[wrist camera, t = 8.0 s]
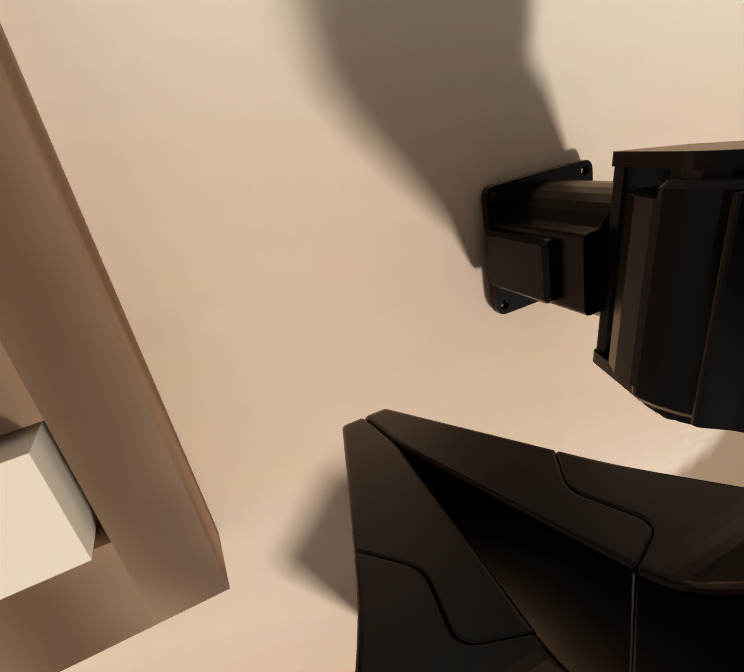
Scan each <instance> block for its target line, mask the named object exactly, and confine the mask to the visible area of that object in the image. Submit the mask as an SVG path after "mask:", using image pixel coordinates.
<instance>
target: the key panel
mask: <svg viewBox="0 0 744 672" xmlns="http://www.w3.org/2000/svg"><path fill="white" fill-rule="evenodd" d="M42 421H45V423H46V425H47V427H48V429H49V430H50V432H51V434H52V436H53V438H54V439H55V441H56V443H57V445H58V447H59V449H60V450H61V452H62V454H63V456H64V458H65V459H66V461H67V463H68V465H69V467H70V468H71V470H72V472H73V474H74V476H75V477H76V479H77V481H78V483H79V485H80V487H81V488H82V490H83V492H84V494H85V496H86V497H87V499H88V501H89V503H90V505H91V506H92V508H93V510H94V512H95V514H96V515H97V524H96V531H95V539H94V546H93V553H92V560H91V561H88V562H86V563H84V564H81V565H79V566H77V567H75V568H72V569H70V570H68V571H65V572H63V573H61V574H58V575H56V576H54V577H52V578H49V579H47V580H45V581H42V582H40V583H38V584H35V585H33V586H31V587H28V588H26V589H24V590H22V591H19V592H17V593H15V594H12V595H10V596H8V597H5V598H3V599H1V600H0V672H60V671H62V670H64V669H67V668H69V667H71V666H73V665H75V664H77V663H79V662H81V661H83V660H85V659H87V658H89V657H91V656H93V655H95V654H97V653H99V652H101V651H103V650H105V649H107V648H109V647H111V646H113V645H116V644H118V643H120V642H122V641H124V640H126V639H128V638H130V637H132V636H134V635H136V634H138V633H140V632H142V631H144V630H146V629H148V628H150V627H152V626H154V625H156V624H158V623H160V622H162V621H164V620H167V619H169V618H171V617H173V616H175V615H177V614H179V613H181V612H183V611H185V610H187V609H189V608H191V607H193V606H195V605H197V604H199V603H201V602H203V601H205V600H207V599H209V598H211V597H213V596H216V595H218V594H220V593H222V592H224V591H226V590H228V589H230V587H229V582H228V577H227V572H226V567H225V562H224V557H223V552H222V547H221V542H220V537H219V533H218V530H217V528H216V526H215V523H214V521H213V519H212V516H211V514H210V512H209V509H208V507H207V505H206V502H205V500H204V498H203V495H202V493H201V491H200V488H199V486H198V484H197V481H196V479H195V477H194V474H193V472H192V470H191V467H190V465H189V463H188V460H187V458H186V456H185V453H184V451H183V449H182V446H181V444H180V442H179V439H178V437H177V435H176V432H175V430H174V428H173V425H172V423H171V421H170V418H169V416H168V414H167V411H166V409H165V407H164V404H163V402H162V400H161V397H160V395H159V393H158V390H157V388H156V386H155V383H154V381H153V379H152V376H151V374H150V372H149V369H148V367H147V365H146V362H145V360H144V358H143V355H142V353H141V351H140V348H139V346H138V344H137V341H136V339H135V337H134V334H133V332H132V330H131V327H130V325H129V323H128V320H127V318H126V316H125V313H124V311H123V309H122V306H121V304H120V302H119V299H118V297H117V295H116V292H115V290H114V288H113V285H112V283H111V281H110V278H109V276H108V274H107V271H106V269H105V267H104V264H103V262H102V260H101V257H100V255H99V253H98V250H97V248H96V246H95V243H94V241H93V239H92V236H91V234H90V232H89V229H88V227H87V225H86V222H85V220H84V217H83V215H82V213H81V210H80V208H79V206H78V203H77V201H76V199H75V196H74V194H73V192H72V189H71V187H70V185H69V182H68V180H67V178H66V175H65V173H64V171H63V168H62V166H61V164H60V161H59V159H58V157H57V154H56V152H55V150H54V147H53V145H52V143H51V140H50V138H49V136H48V133H47V131H46V129H45V126H44V124H43V122H42V119H41V117H40V115H39V112H38V110H37V108H36V105H35V103H34V101H33V98H32V96H31V94H30V91H29V89H28V87H27V84H26V82H25V80H24V77H23V75H22V73H21V70H20V68H19V66H18V63H17V61H16V59H15V56H14V54H13V52H12V49H11V47H10V45H9V42H8V40H7V38H6V35H5V33H4V31H3V28H2V26H1V24H0V436H1V435H4V434H7V433H9V432H12V431H15V430H18V429H21V428H24V427H27V426H30V425H33V424H36V423H39V422H42Z"/></svg>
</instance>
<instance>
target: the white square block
mask: <svg viewBox="0 0 744 672" xmlns="http://www.w3.org/2000/svg"><path fill="white" fill-rule="evenodd" d="M96 524H97V515H96V514H95V512H94V510H93V508H92V506H91V505H90V503H89V501H88V499H87V497H86V496H85V494H84V492H83V490H82V488H81V487H80V485H79V483H78V481H77V479H76V477H75V476H74V474H73V472H72V470H71V468H70V467H69V465H68V463H67V461H66V459H65V458H64V456H63V454H62V452H61V450H60V449H59V447H58V445H57V443H56V441H55V439H54V438H53V436H52V434H51V432H50V430H49V429H48V427H47V425H46V423H45V421H42V422H39V423H36V424H33V425H30V426H27V427H24V428H21V429H18V430H15V431H12V432H9V433H7V434H4V435H1V436H0V600H1V599H3V598H5V597H8V596H10V595H12V594H15V593H17V592H19V591H22V590H24V589H26V588H28V587H31V586H33V585H35V584H38V583H40V582H42V581H45V580H47V579H49V578H52V577H54V576H56V575H58V574H61V573H63V572H65V571H68V570H70V569H72V568H75V567H77V566H79V565H81V564H84V563H86V562H88V561H91V560H92V553H93V546H94V539H95V531H96Z"/></svg>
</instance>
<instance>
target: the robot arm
mask: <svg viewBox="0 0 744 672" xmlns="http://www.w3.org/2000/svg"><path fill="white" fill-rule="evenodd" d="M612 166H615V169H614V179H613V181H593V168H592V164H591V162H590V161H588V160H578V161H574V162H571V163H567V164H564V165H560V166H556V167H553V168H549V169H546V170H542V171H539V172H535V173H532V174H528V175H524V176H521V177H517V178H514V179H510V180H507V181H503V182H499V183H496V184H492V185H489V186H487V187H486V188H485V189H484V190H483V192H482V208H483V218H484V228H485V236H484V238H485V248H486V258H487V268H488V278H489V283H490V288H491V298H492V307H493V309H494V311H496V312H498V313H501V314H507V313H509V312H512V311H514V310H517V309H520V308H522V307H525V306H527V305H530V304H533V303H535V302H538V301H540V302H543V303H552V304H555V305H558V306H561V307H564V308H567V309H570V310H573V311H576V312H579V313H582V314H585V315H592V314H594V315H597V316H600V319H599V329H598V339H597V348H596V349H594V355H593V362H594V363H595V364H596V365H598V366H599V367H600V368H601V369H602V370H604V371H605V372H606V373H607V374H608V375H610V376H611V377H612V378H613V379H614V380H616V381H617V382H618V383H619V384H621V385H622V386H623V387H624V388H625V389H627V390H628V391H629V392H630V393H631V394H632V395H634V396H635V397H636V398H637V399H638V400H639V401H641V402H642V403H644V404H645V405H646V406H647V407H649V408H650V409H652V410H653V411H655V412H657V413H659V414H660V415H661V416H663V417H664V418H667V419H671V420H676V421H679V422H683V423H687V424H691V425H693V426H696V427H700V428H710V429H722V430H732V431H738V432H743V433H744V141H733V142H715V143H697V144H686V145H675V146H665V147H654V148H644V149H633V150H623V151H613V160H612ZM582 168H583V171H582V173H581V169H582ZM493 192H494V194H495V196H494V199H493V200H491V194H492V193H493ZM503 301H504V305H503V306H502V307H501V304H502V302H503ZM343 438H344V449H345V460H346V470H347V481H348V491H349V502H350V512H351V523H352V533H353V544H354V554H355V568H356V579H357V599H358V626H357V654H356V669H355V672H744V487H739V486H733V485H726V484H721V483H715V482H709V481H704V480H698V479H692V478H686V477H680V476H674V475H669V474H663V473H657V472H652V471H646V470H641V469H636V468H630V467H625V466H620V465H615V464H610V463H606V462H601V461H597V460H593V459H588V458H584V457H579V456H575V455H571V454H567V453H563V452H557V453H555V451H554V450H550V449H546V448H542V447H538V446H534V445H530V444H526V443H522V442H518V441H514V440H510V439H506V438H502V437H498V436H494V435H490V434H486V433H482V432H477V431H473V430H469V429H465V428H461V427H457V426H453V425H449V424H445V423H441V422H437V421H433V420H429V419H425V418H421V417H417V416H413V415H409V414H405V413H400V412H396V411H392V410H388V409H383V410H381V411H378V412H376V413H373V414H371V415H369V416H367V417H366V419H359V420H357V421H354V422H352V423H350V424H347V425H345V426H344V427H343Z"/></svg>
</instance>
